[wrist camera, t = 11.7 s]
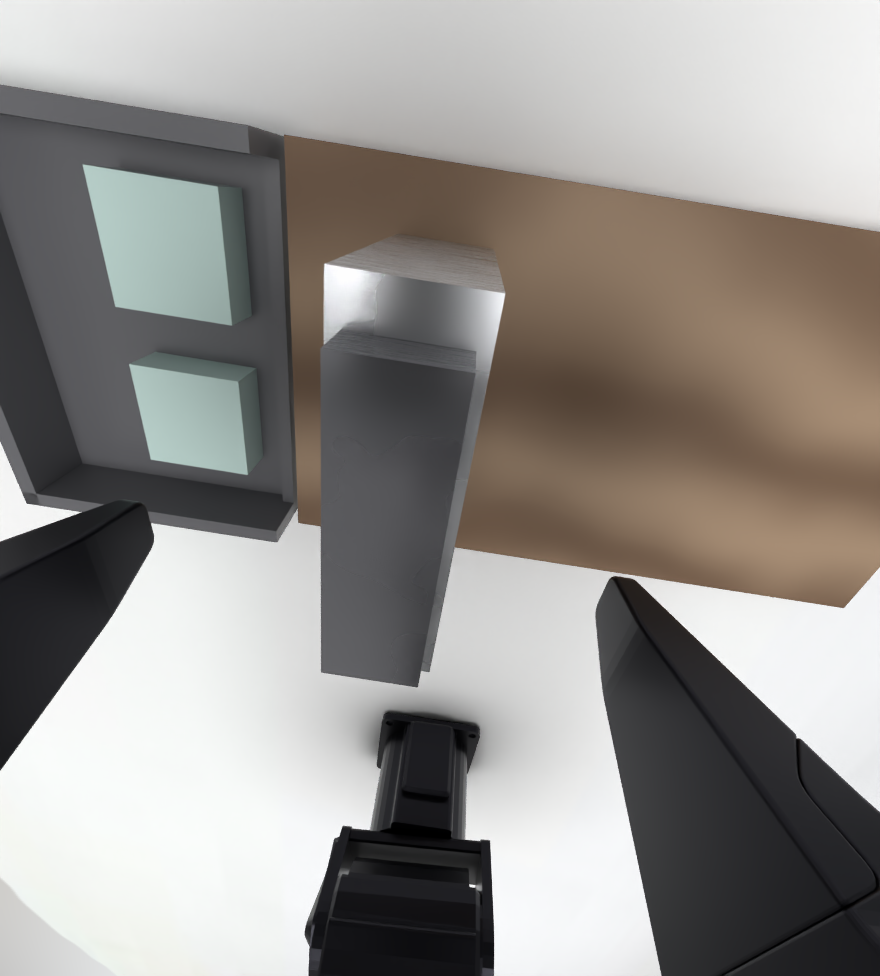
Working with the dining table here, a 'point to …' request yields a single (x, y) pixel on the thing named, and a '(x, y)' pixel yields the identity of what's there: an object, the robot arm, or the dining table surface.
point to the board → (631, 371)
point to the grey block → (398, 443)
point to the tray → (131, 316)
